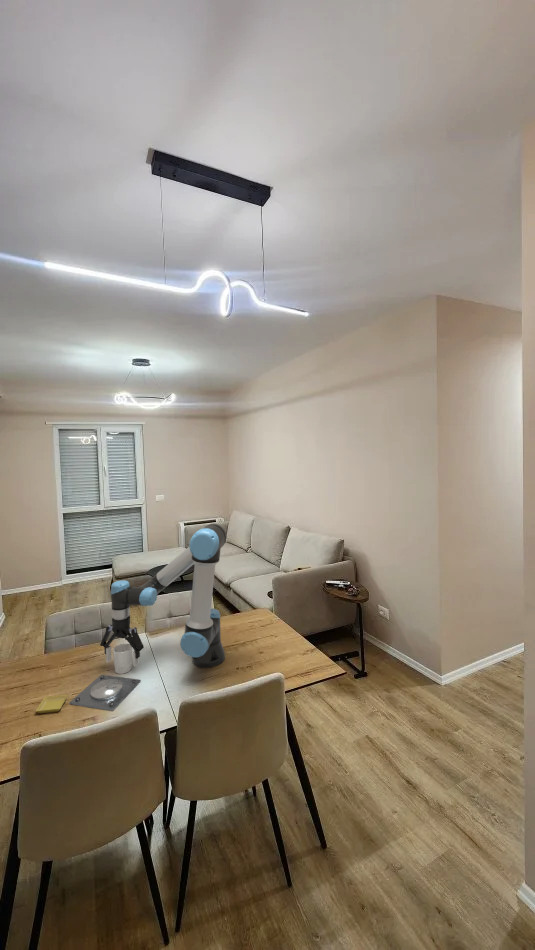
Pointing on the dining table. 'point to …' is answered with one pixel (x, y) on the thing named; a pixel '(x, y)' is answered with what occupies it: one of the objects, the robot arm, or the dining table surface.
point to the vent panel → (105, 692)
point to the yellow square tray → (51, 704)
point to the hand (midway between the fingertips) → (122, 663)
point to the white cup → (122, 658)
